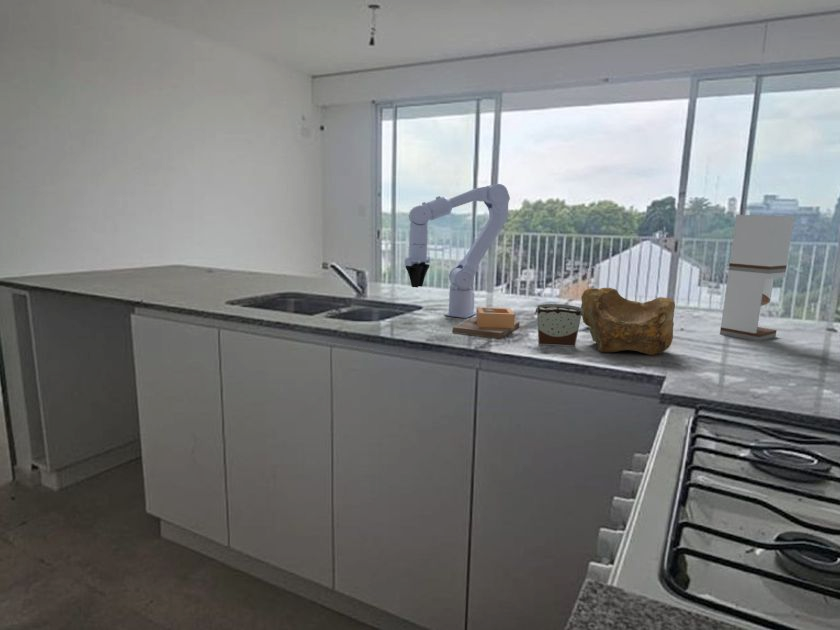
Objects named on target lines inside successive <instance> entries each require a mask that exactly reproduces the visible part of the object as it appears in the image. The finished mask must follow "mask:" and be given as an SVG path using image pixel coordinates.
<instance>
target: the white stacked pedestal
mask: <svg viewBox="0 0 840 630" xmlns="http://www.w3.org/2000/svg"><path fill="white" fill-rule="evenodd" d="M794 220H795V216H793V215H789V216H788V215H767V214H766V215H765V214H759V215H758V214H735V221H734V228H733V235H732V243H731V250H730V257H729V264H728V272H727V279H726V288H725V295H724V300H723V308H722V316H721V322H720V330H719V334H720V335H724V336H729V337H734V338H738V339H739V338H740V339H746V340H751V341H755V342H761V341H764V340H769V339H772V338H776V337H777V329H771V328H766V327H762V326H758V325H759V320H760V313H761V307H762V306H766V305H767V304H769V303H770V302H771V299H772V293H773V284H774V279H780V278H785V277H786V272H787V266H788V259H789V253H790V248H791V247H790V246H791V240H792V234H793V228H794Z"/></svg>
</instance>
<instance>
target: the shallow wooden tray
mask: <svg viewBox="0 0 840 630" xmlns="http://www.w3.org/2000/svg"><path fill="white" fill-rule="evenodd" d="M486 309H490V310H494V313H486V312H484V310H486ZM475 312H476V314H475V315H476V316H475V317H476V321H477V324H478V326H479V327H493V328H514V323H515V321H516V314H515V313H514V311H513V310H512V309H511V308H509V307H508V308H507V307H481V306H480V307H479V306H477V307H476V311H475Z"/></svg>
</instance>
